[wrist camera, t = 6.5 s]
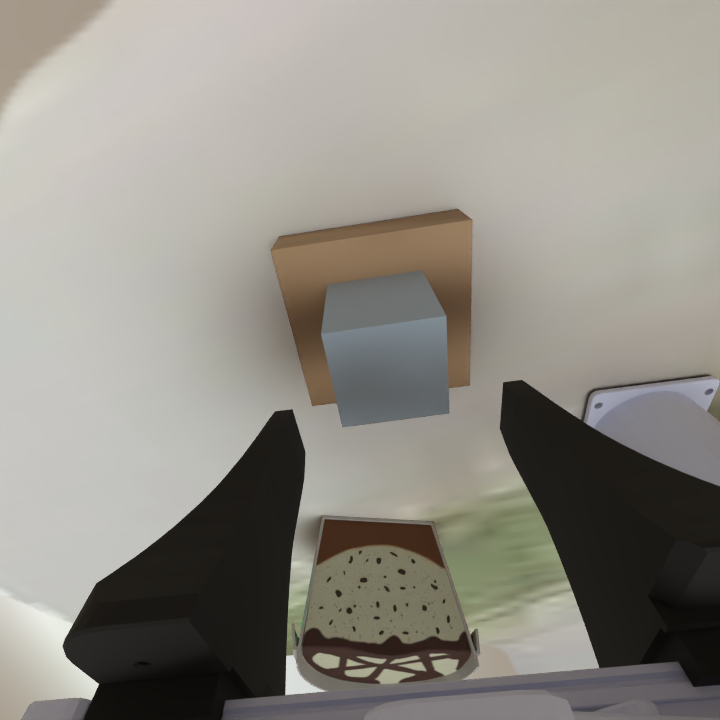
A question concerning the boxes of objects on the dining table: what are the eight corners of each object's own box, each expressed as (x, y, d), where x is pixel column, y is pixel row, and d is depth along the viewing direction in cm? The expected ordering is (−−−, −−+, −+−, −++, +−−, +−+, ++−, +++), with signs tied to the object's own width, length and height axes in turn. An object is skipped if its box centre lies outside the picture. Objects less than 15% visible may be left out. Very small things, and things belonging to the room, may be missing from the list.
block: (427, 352, 20) (448, 413, 16) (343, 363, 20) (342, 427, 16) (422, 270, 17) (446, 315, 13) (327, 284, 18) (321, 334, 13)
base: (458, 361, 23) (469, 385, 21) (315, 381, 24) (312, 405, 22) (457, 209, 18) (472, 219, 16) (279, 236, 19) (270, 250, 17)
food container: (300, 557, 34) (284, 701, 25) (303, 514, 31) (287, 662, 22) (433, 563, 35) (460, 703, 26) (450, 522, 32) (487, 666, 23)
